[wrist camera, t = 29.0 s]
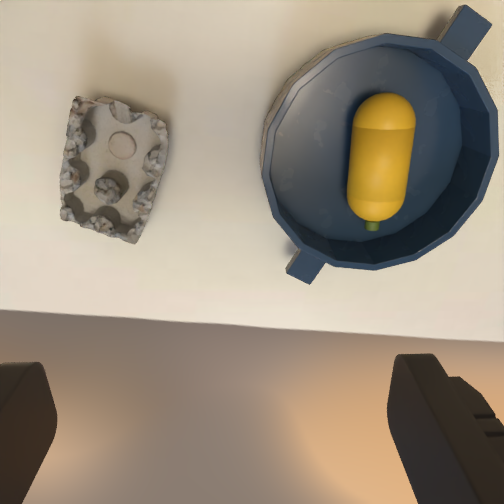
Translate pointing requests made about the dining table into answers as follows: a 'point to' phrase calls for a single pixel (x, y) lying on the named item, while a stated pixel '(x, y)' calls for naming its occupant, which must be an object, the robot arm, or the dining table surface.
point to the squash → (380, 157)
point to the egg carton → (111, 167)
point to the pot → (339, 142)
